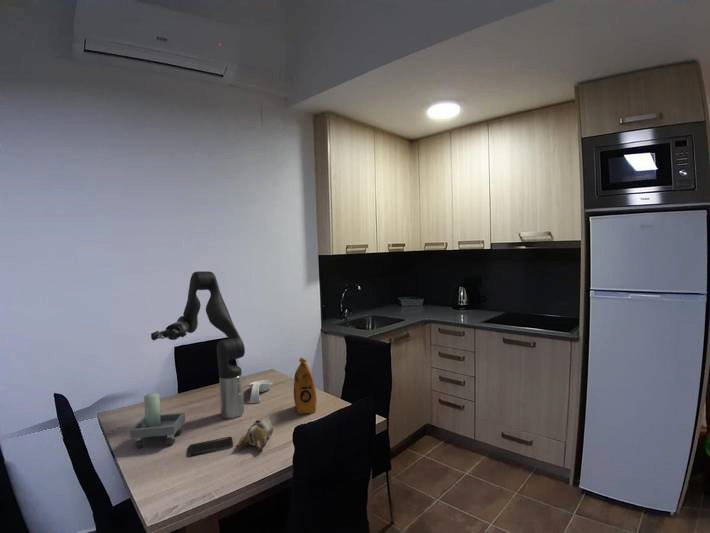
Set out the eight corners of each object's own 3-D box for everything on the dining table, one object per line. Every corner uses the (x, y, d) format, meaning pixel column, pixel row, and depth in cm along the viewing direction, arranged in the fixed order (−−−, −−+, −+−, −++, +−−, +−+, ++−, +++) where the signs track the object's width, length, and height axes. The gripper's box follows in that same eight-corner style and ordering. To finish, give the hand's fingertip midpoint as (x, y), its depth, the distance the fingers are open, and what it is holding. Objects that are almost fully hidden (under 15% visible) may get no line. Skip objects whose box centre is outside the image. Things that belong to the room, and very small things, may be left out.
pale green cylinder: (162, 423, 144) (161, 392, 143) (157, 429, 139) (156, 397, 138) (149, 424, 143) (147, 393, 143) (143, 430, 138) (141, 398, 138)
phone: (188, 444, 136) (231, 436, 142) (188, 447, 136) (232, 438, 142) (187, 455, 129) (233, 445, 134) (188, 458, 129) (233, 448, 134)
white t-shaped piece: (251, 387, 198) (251, 373, 197) (274, 385, 199) (273, 372, 199) (242, 404, 174) (242, 389, 174) (268, 402, 175) (267, 387, 175)
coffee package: (294, 416, 159) (292, 365, 158) (293, 404, 171) (292, 357, 171) (317, 413, 161) (316, 363, 160) (315, 402, 173) (313, 355, 172)
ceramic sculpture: (279, 412, 142) (259, 433, 128) (280, 434, 143) (261, 457, 129) (254, 410, 145) (232, 430, 131) (256, 432, 146) (234, 454, 131)
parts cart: (185, 431, 148) (184, 412, 148) (174, 446, 136) (173, 426, 136) (145, 434, 146) (144, 416, 146) (131, 450, 134) (130, 430, 134)
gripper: (160, 323, 181) (146, 330, 165) (190, 322, 183) (179, 328, 167) (161, 338, 182) (146, 346, 165) (191, 337, 183) (180, 344, 167)
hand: (163, 337), depth 166 cm, fingers open, 8 cm apart
